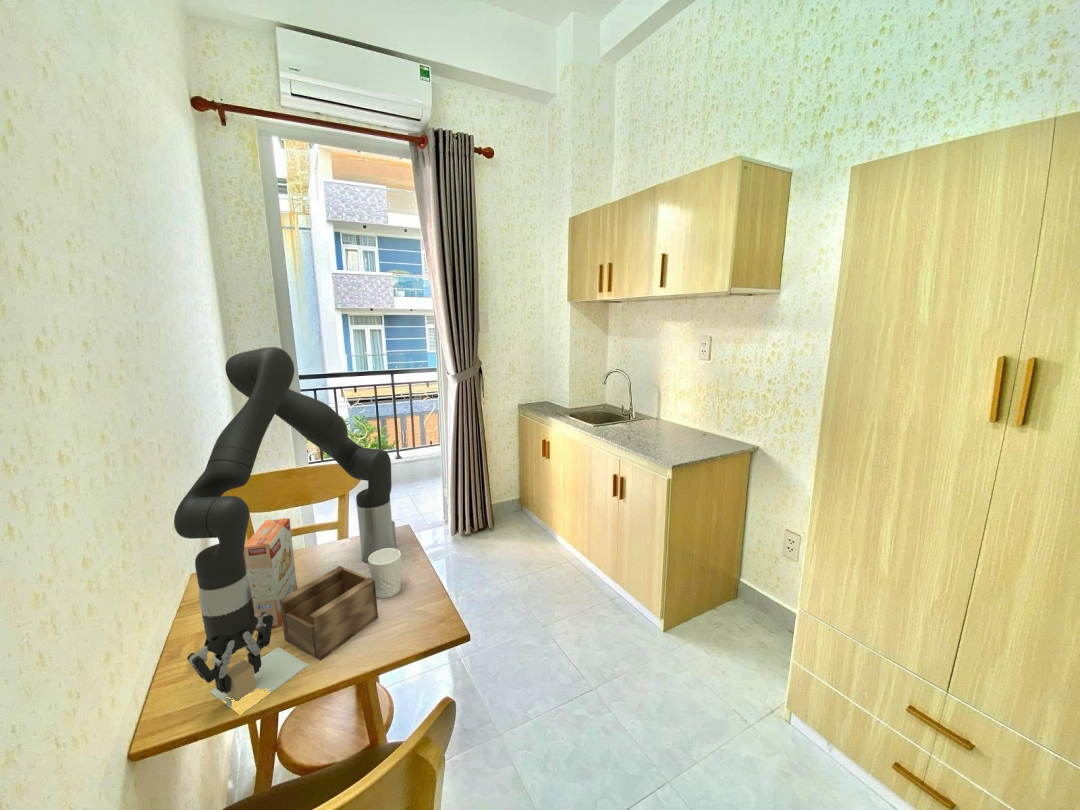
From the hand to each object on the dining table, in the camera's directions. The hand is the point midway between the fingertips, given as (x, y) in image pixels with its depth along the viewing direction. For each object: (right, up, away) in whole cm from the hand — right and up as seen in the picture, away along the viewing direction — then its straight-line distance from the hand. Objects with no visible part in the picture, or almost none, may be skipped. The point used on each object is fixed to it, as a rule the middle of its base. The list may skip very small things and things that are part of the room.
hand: (240, 680), depth 82 cm
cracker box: (-7, +2, +24) cm, 25 cm away
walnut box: (+9, +1, +17) cm, 20 cm away
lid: (+2, -3, +4) cm, 5 cm away
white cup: (+17, +4, +31) cm, 36 cm away
